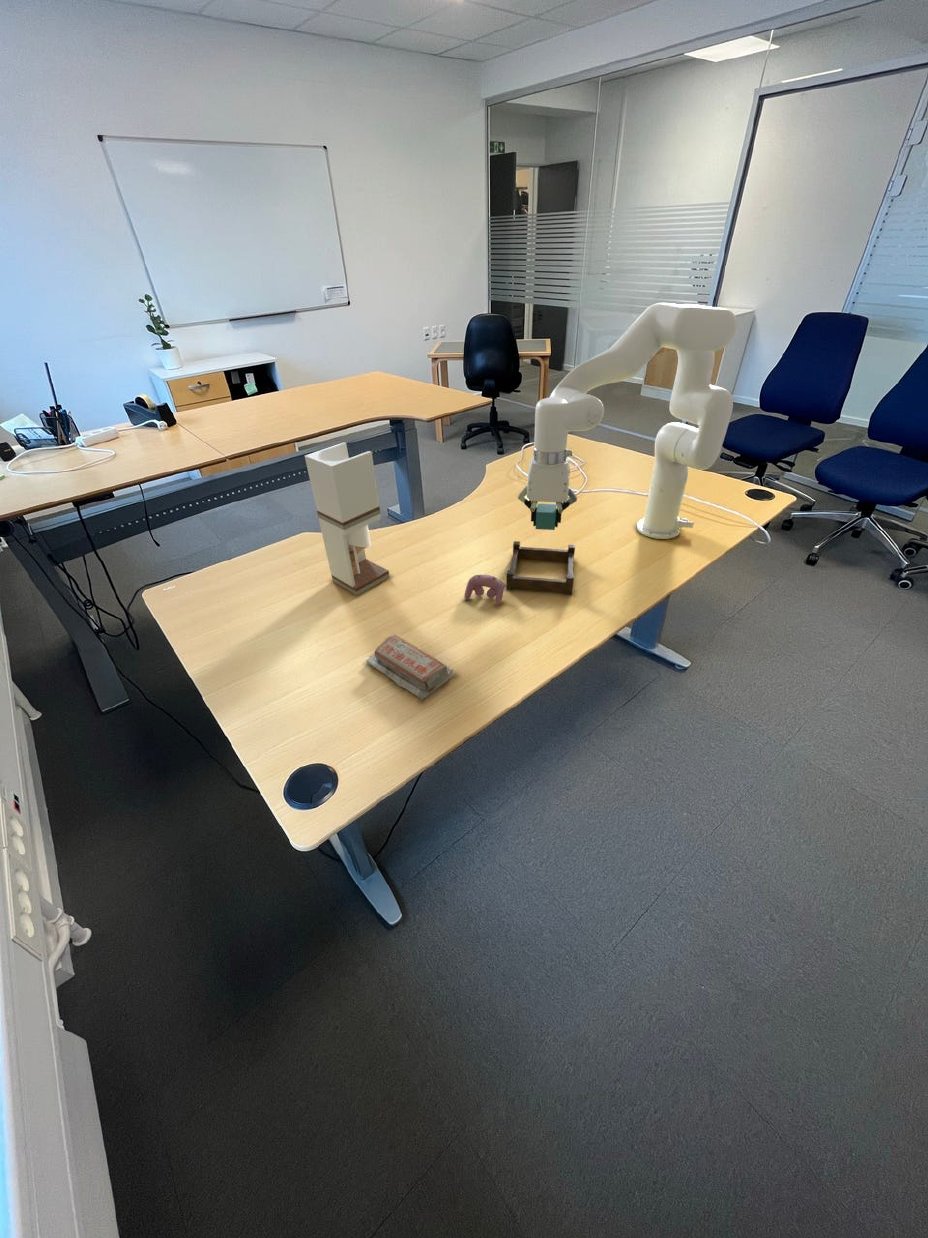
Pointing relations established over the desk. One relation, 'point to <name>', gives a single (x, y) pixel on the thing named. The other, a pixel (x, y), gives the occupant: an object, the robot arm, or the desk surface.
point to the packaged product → (410, 666)
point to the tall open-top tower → (346, 514)
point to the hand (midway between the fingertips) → (545, 523)
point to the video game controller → (486, 581)
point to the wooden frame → (541, 583)
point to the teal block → (546, 516)
